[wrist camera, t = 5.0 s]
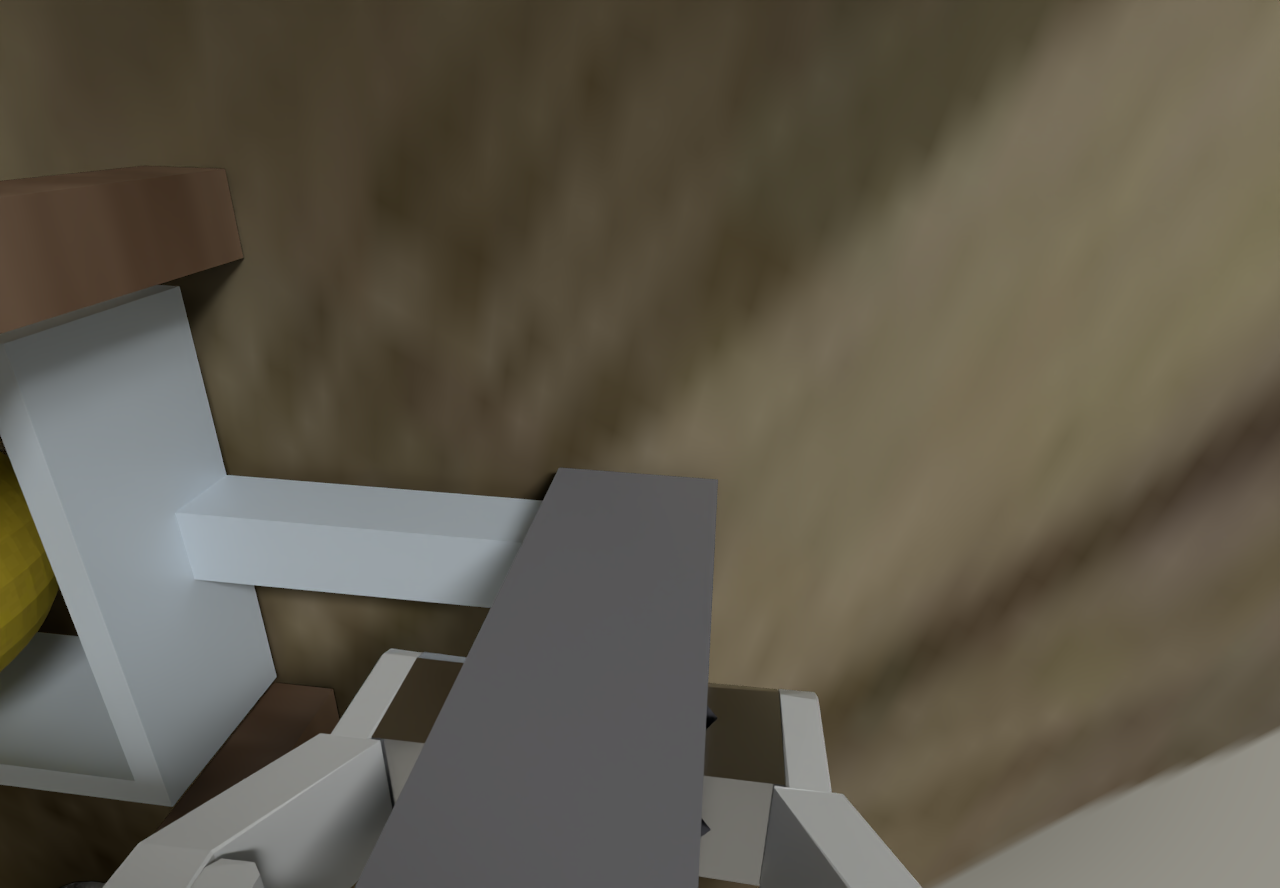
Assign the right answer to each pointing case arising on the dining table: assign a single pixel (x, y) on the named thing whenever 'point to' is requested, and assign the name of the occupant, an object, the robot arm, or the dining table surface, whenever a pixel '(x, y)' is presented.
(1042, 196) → the dining table surface
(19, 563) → the lemon
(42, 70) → the dining table surface
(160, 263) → the tunnel
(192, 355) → the slider
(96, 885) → the gray stone ornament
